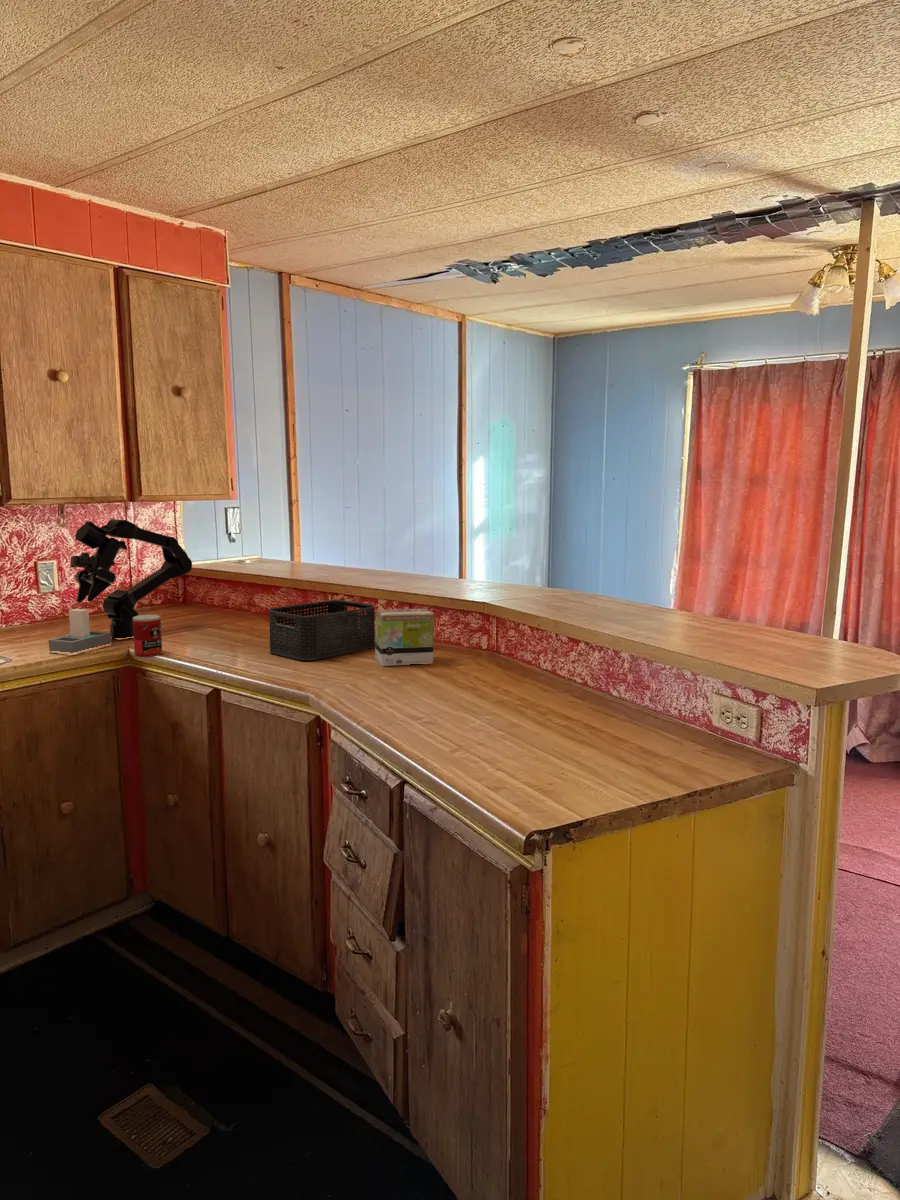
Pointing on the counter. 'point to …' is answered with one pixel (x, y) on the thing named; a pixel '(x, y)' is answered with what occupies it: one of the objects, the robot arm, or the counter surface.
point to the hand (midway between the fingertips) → (83, 601)
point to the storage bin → (321, 629)
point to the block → (79, 623)
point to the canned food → (147, 635)
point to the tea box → (404, 636)
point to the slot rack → (79, 642)
